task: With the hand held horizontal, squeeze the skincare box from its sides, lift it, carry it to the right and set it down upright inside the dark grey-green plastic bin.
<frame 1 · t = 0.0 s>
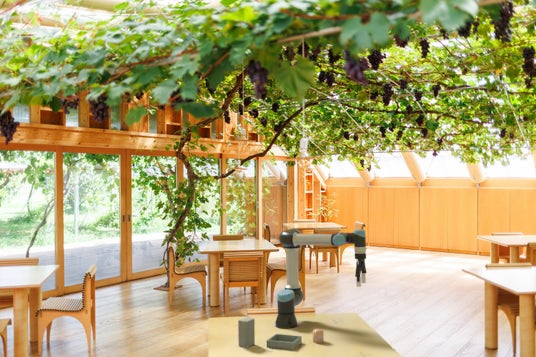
hand: (361, 284, 338), 28 cm above the table, tool pointing down, fingers open, 13 cm apart
peach rounded cylinder: (318, 341, 306), on the table
skincare box: (246, 345, 302), on the table
bin: (284, 345, 301), on the table
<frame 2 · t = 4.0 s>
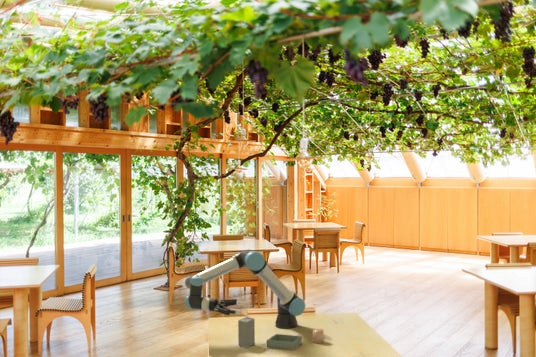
hand: (244, 308, 302), 22 cm above the table, tool horizontal, fingers open, 13 cm apart
nothing on the table moved.
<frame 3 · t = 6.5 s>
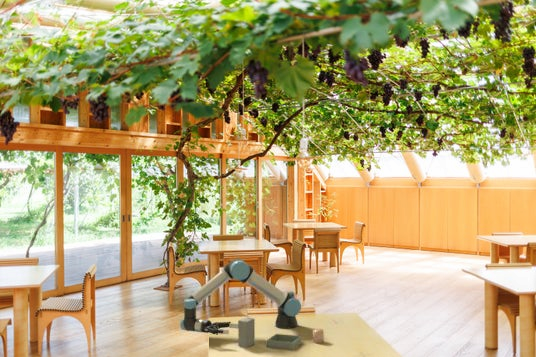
hand: (233, 329, 306), 9 cm above the table, tool horizontal, fingers open, 13 cm apart
nothing on the table moved.
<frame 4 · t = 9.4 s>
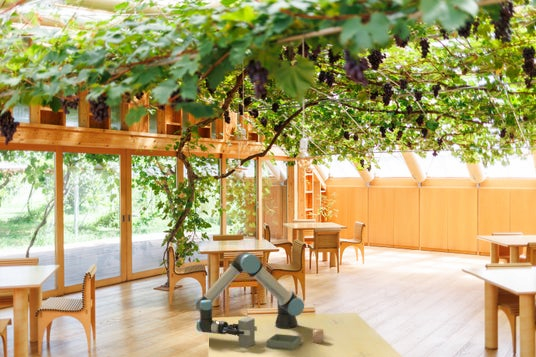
hand: (253, 330, 301), 9 cm above the table, tool horizontal, fingers closed on skincare box, 9 cm apart
skincare box: (246, 345, 302), on the table, touching gripper
everything else where it was.
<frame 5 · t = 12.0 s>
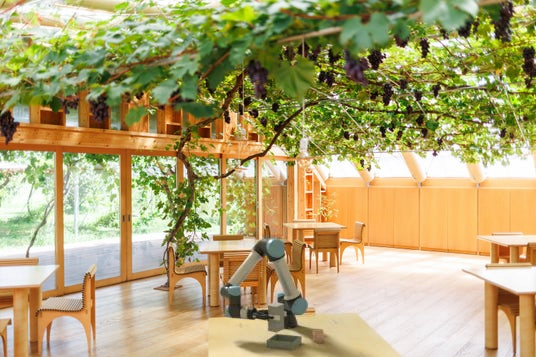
hand: (282, 315, 300), 18 cm above the table, tool horizontal, fingers closed on skincare box, 9 cm apart
skincare box: (276, 330, 301), point 8 cm above the table, touching gripper
everything else where it was.
when the fingers open (11 cm above the table, at t = 14.6 s): skincare box drops 1 cm, resting on bin.
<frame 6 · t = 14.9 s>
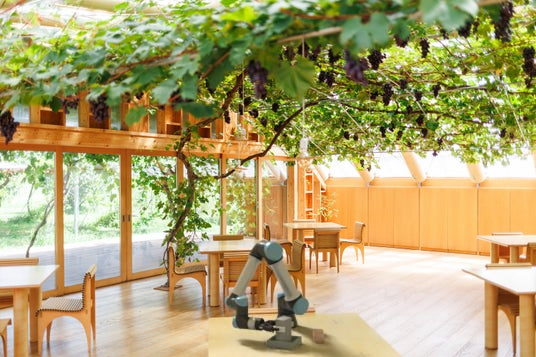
hand: (289, 326, 300), 11 cm above the table, tool horizontal, fingers open, 13 cm apart
skincare box: (283, 344, 301), resting on bin
everything else where it was.
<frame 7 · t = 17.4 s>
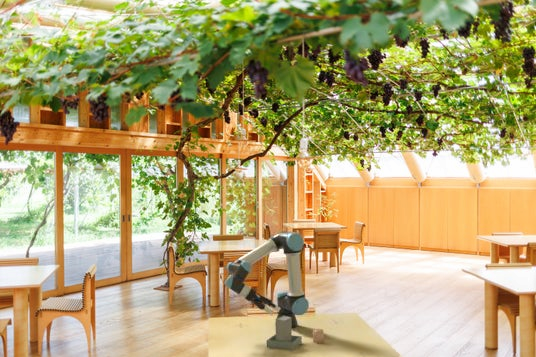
hand: (276, 311, 312), 17 cm above the table, tool tilted 55°, fingers open, 13 cm apart
nothing on the table moved.
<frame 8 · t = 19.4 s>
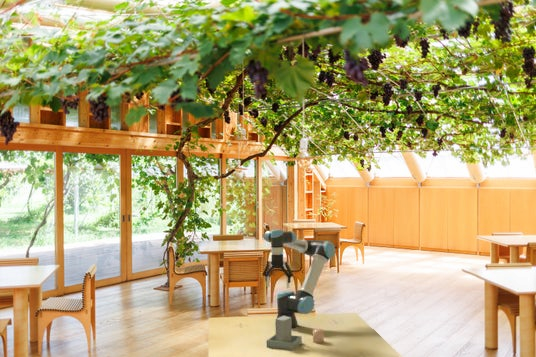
hand: (278, 287, 321), 31 cm above the table, tool pointing down, fingers open, 13 cm apart
nothing on the table moved.
at the end: skincare box inside the target area on the bin (0.5 cm from its centre), point 0.4 cm above the bin's base; skincare box tilted 0°; the gripper is holding nothing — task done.
